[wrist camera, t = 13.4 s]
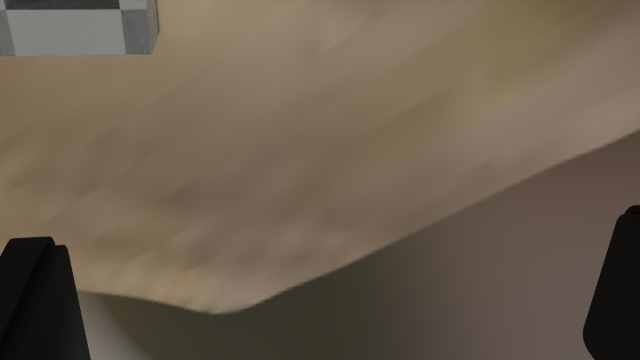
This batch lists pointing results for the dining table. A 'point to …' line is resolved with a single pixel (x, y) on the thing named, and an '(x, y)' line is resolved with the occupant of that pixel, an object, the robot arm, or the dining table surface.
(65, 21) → the grey compartment tray
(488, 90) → the dining table surface
